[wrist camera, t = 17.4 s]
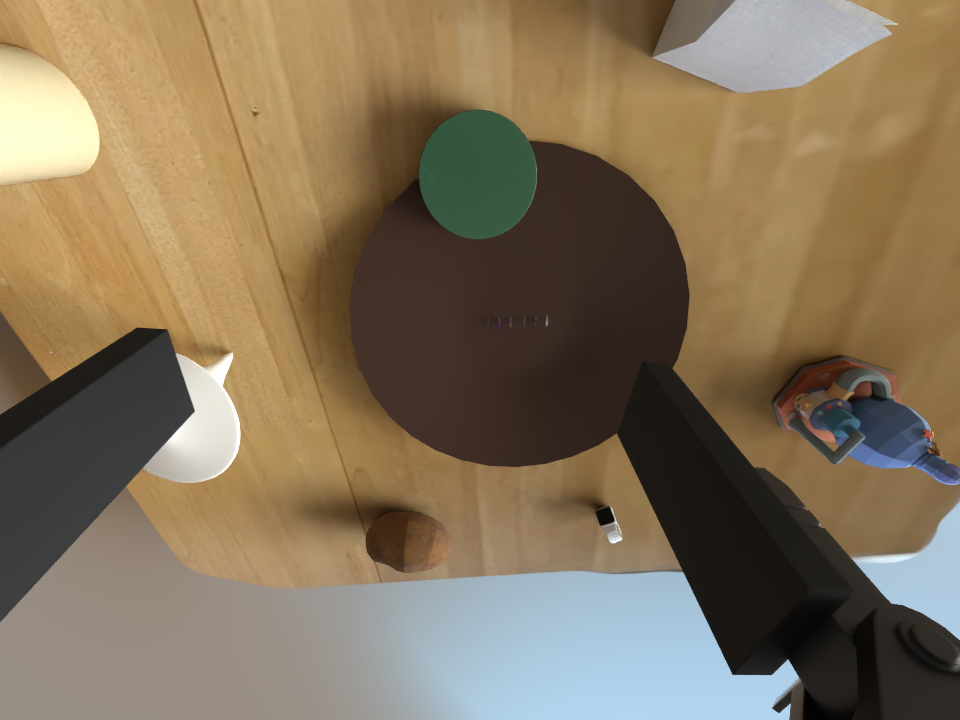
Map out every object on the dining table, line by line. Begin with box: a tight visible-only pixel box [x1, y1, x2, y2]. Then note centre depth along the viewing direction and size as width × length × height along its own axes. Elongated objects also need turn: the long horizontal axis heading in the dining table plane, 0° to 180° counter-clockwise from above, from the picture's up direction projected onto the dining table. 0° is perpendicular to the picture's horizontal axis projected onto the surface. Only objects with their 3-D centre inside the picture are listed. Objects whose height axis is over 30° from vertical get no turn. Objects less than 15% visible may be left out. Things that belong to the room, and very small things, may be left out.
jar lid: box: [419, 110, 537, 239], centre depth 28 cm, size 8×8×2 cm
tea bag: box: [652, 0, 898, 93], centre depth 22 cm, size 4×7×10 cm, turn 73°
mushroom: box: [142, 353, 240, 483], centre depth 31 cm, size 10×11×12 cm
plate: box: [350, 141, 689, 467], centre depth 34 cm, size 28×28×4 cm
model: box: [772, 356, 960, 485], centre depth 37 cm, size 12×9×9 cm
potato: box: [366, 511, 452, 573], centre depth 46 cm, size 7×10×6 cm
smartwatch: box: [595, 506, 623, 544], centre depth 47 cm, size 4×2×4 cm, turn 27°
